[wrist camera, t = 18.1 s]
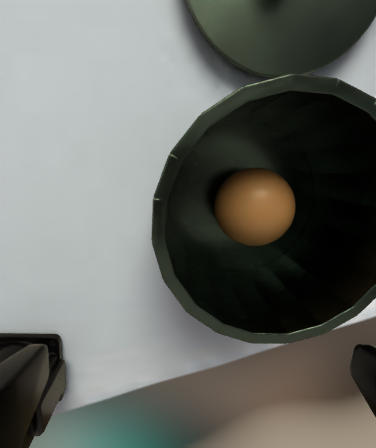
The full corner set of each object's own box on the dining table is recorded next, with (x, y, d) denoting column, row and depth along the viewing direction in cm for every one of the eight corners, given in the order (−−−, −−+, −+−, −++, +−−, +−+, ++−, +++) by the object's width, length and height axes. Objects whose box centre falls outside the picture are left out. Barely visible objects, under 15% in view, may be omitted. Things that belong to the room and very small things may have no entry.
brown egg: (205, 232, 18) (219, 256, 14) (211, 164, 17) (229, 164, 12) (268, 235, 19) (304, 259, 14) (278, 169, 18) (320, 171, 13)
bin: (156, 272, 20) (147, 343, 12) (163, 107, 17) (157, 59, 9) (302, 276, 21) (381, 344, 13) (331, 122, 18) (457, 90, 10)
